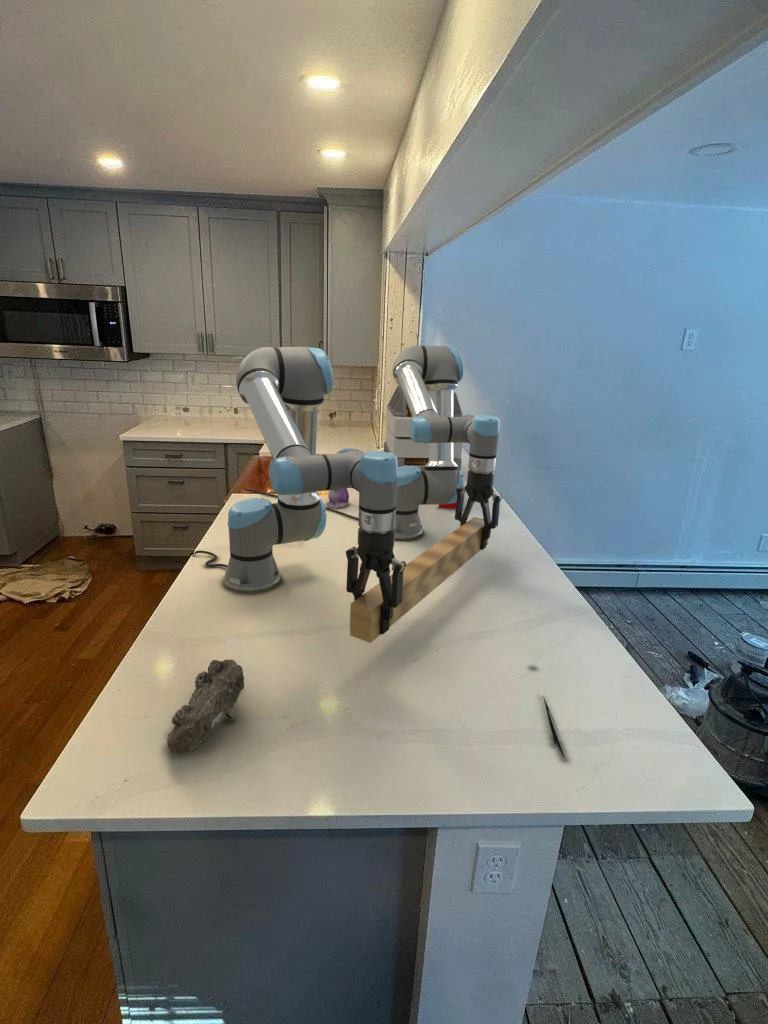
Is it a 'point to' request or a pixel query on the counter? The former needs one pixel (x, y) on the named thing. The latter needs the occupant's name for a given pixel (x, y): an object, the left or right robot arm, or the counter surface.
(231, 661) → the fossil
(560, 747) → the feather
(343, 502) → the figurine
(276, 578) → the left robot arm
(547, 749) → the counter surface
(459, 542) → the post
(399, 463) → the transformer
